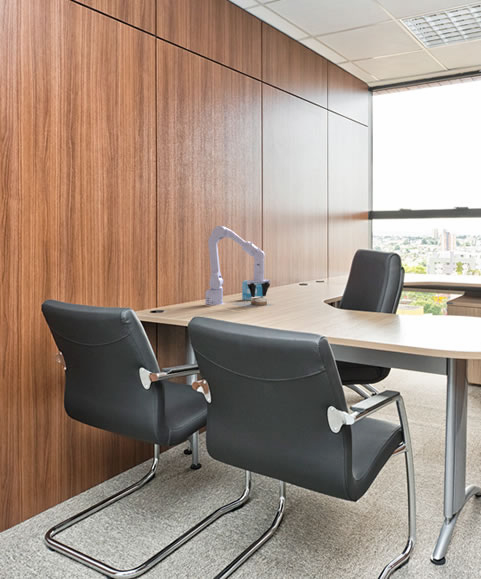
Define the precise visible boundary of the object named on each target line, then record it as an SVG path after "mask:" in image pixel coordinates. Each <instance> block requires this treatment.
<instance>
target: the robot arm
mask: <svg viewBox="0 0 481 579" xmlns="http://www.w3.org/2000/svg"><path fill="white" fill-rule="evenodd" d="M224 238H228V239H231V240H233V241H234V242H235V243H237V244H239V245H240V246H241V247H242V251H243V252H246V254H248V255H250V257H253V260H254V261H253V262H254V263H253V279H251V280H248V281H247V280H246V281H247V284H248V287H249V289H250V292H251V297H255V289H256V285H255V284H260V283H263V284H261V285H262V295H263V297H266V296H267V293H268V290H269V287H270V286H271V279H269V278H268V279H265V257H266V254H265V252H264V250H263V249H262V250H261V249H260V247H257V246H256V245H254V243H253V241H249V240H248V241H246V240H244V239H243V238H242V237H241V236H239V235H238V234H237V233H236V232H235V231H233V230H232V229H230V228H228V227H226V226H225V225H217V226H215V227H214V228H213V229H212V230H211V234H210V235H209V238H208V240H207V242H208V253H209V254H208V255H209V265H210V276H209V277H210V279H209V283H208V285H209V289H207V290H206V291H205V302H204V305H207V306H217V305H226V303H225V302H224V288H223V285H224V279H223V277H222V273H221V270H220V268H221V267H220V266H221V265H220V258H219V256H220V255H219V247H218V244H219V242H220V241H221V240H222V239H224ZM257 282H260V283H257Z"/></svg>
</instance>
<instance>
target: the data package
mask: <svg viewBox="0 0 481 579" xmlns="http://www.w3.org/2000/svg"><path fill="white" fill-rule="evenodd" d="M247 281H248V280H243V281H242V282H241V284H242V286H241V289H242V290H241V292H242V295H241V300H243V301H251V292H250V289H249V287H248V284H247ZM257 283H260V282H257ZM261 284H263V283H260V284H255V285H256V289H255V297H264V296H263V295H262V285H261Z"/></svg>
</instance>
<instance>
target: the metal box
mask: <svg viewBox="0 0 481 579" xmlns="http://www.w3.org/2000/svg"><path fill="white" fill-rule="evenodd" d="M267 300H268V298H267V297H265V296H263V297H251V300H250V302H251V304H252V305H258V307H264V306H263V305H267V304H268V301H267Z"/></svg>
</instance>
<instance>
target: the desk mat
mask: <svg viewBox="0 0 481 579" xmlns="http://www.w3.org/2000/svg"><path fill="white" fill-rule="evenodd" d="M233 305H235V306H239V307H245V308H258V307H259V306H258V305H252V304H251V301H250V302H249V301H246V302H235V303H233ZM267 306H268V307H269V306H274V304H271V303H267V305H263V306H262V307H267Z"/></svg>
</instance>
